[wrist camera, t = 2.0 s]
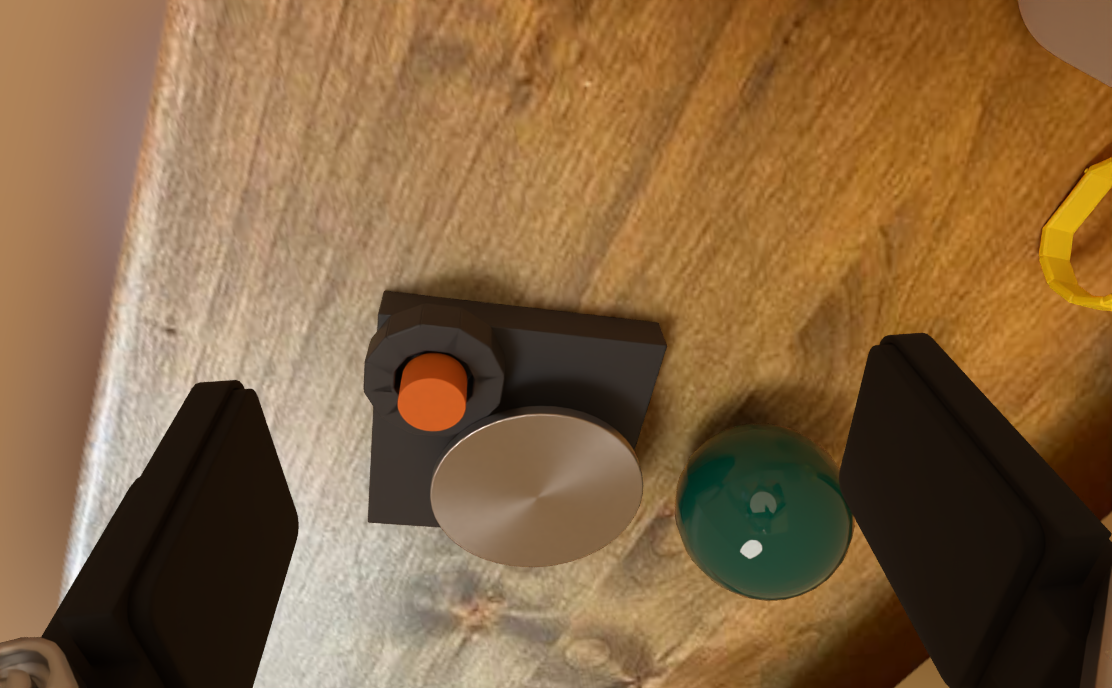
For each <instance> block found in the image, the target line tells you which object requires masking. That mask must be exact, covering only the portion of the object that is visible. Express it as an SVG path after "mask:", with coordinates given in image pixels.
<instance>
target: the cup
mask: <svg viewBox="0 0 1112 688" xmlns="http://www.w3.org/2000/svg"><path fill="white" fill-rule="evenodd" d="M1018 5H1019V9H1020V13H1021V16H1022V18H1023V21H1024V23H1025V25H1026V27H1027V28H1028V30H1029V32H1030V33H1031V34H1032V36H1033V37H1034V38H1035V39H1036V41H1037V42H1038V43H1039V44H1041V45H1042V46H1043V47H1044V48H1045V49H1046V50H1048V51H1049V52H1051V53H1052V54H1053V55H1055V56H1056V57H1058V58H1060V59H1061V60H1063V61H1065V62H1067V63H1068V64H1070V65H1072V66H1074V67H1076V68H1077V69H1079V70H1081V71H1083V72H1085V73H1086V74H1088V75H1090V76H1092V77H1094V78H1095V79H1097V80H1099V81H1101V82H1103V83H1104V84H1106V85H1108V86H1110V87H1112V0H1018Z"/></svg>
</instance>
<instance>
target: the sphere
mask: <svg viewBox="0 0 1112 688" xmlns="http://www.w3.org/2000/svg"><path fill="white" fill-rule="evenodd" d="M839 472H840V469H839V467H838V466H837V464H836V463H835V462H834V460H833V459H832V457H831V456H830V455H829V453H828V452H827V451H826V450H825V449H824V448H823V447H822V446H821V445H819V444H818V443H816V442H814V441H813V440H811V439H809V438H808V437H806V436H804V435H803V434H801V433H799V432H798V431H796V430H794V429H791V428H788V427H783V426H779V425H774V424H769V423H756V424H742V425H739V426H735V427H732V428H728V429H725V430H723V431H721V432H720V433H718V434H716V435H714V436H713V437H711V438H709V439H708V440H707V441H705V442H704V443H703V444H702V445H701V446H700V447H699V448H698V449H697V450H696V451H695V452H694V453H693V454H692V455H691V457H690V459H689V461H688V462H687V464H686V466H685V468H684V470H683V472H682V473H681V475H680V477H679V481H678V484H677V491H676V499H675V519H676V524H677V527H678V530H679V533H680V536H681V539H682V541H683V544H684V547H685V549H686V551H687V553H688V555H689V556H690V558H691V559H692V561H693V562H694V563H695V564H696V565H697V566H698V567H699V568H700V569H701V570H702V571H703V572H704V573H705V574H706V575H707V576H708V577H709V578H710V579H711V580H712V581H713V582H714V583H716V584H717V585H719V586H720V587H722V588H724V589H727V590H729V591H731V592H733V593H735V594H738V595H740V596H742V597H745V598H751V599H758V600H764V601H777V600H786V599H790V598H794V597H798V596H801V595H803V594H805V593H807V592H810V591H812V590H814V589H816V588H817V587H818V586H820V585H821V584H822V583H824V582H825V581H826V580H828V579H829V578H830V577H831V576H832V575H833V573H834V572H835V571H836V570H837V568H838V567H839V566H840V564H841V563H842V562H843V560H844V558H845V556H846V554H847V552H848V549H849V546H850V543H851V540H852V536H853V532H854V528H855V518H854V516H853V514H852V512H851V511H850V509H849V507H848V505H847V503H846V501H845V500H844V498H843V495H842V493H841V490H840V485H839Z"/></svg>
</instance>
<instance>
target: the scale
mask: <svg viewBox="0 0 1112 688" xmlns="http://www.w3.org/2000/svg"><path fill="white" fill-rule="evenodd" d="M666 348H667V345H666V342H665V339H664V336H663V334H662V331H661V328H660V325H659V323H657V322H648V321H639V320H631V319H622V318H614V317H605V316H597V315H588V314H579V313H571V312H562V311H554V310H545V309H536V308H528V307H519V306H511V305H502V304H494V303H485V302H476V301H468V300H459V299H451V298H442V297H434V296H425V295H416V294H408V293H399V292H391V291H384V293H383V297H382V301H381V305H380V309H379V313H378V326H377V333H376V334H375V335H374V336H373V337H372V339H371V342H370V344H369V348H368V352H367V356H366V359H365V368H364V393H365V394H366V396H367V397H368V399H369V400H370V402H371V403H372V405H373V426H372V446H371V466H370V487H369V507H368V522H369V523H383V524H397V525H412V526H427V527H440V525H439V523H438V522H437V520H436V518H435V516H434V513H433V510H432V506H431V500H430V487H431V479H432V474H433V470H434V467H435V465H436V462H437V460H438V458H439V456H440V455H441V453H442V451H443V450H444V449H445V448H446V446H447V445H448V444H449V443H450V442H451V440H453V439H454V438H455V437H456V436H457V435H458V434H459V433H460V432H462V431H463V430H464V429H466V428H467V427H469V426H470V425H472V424H474V423H475V422H477V421H479V420H481V419H483V418H485V417H488V416H490V415H493V414H495V413H498V412H502V411H506V410H509V409H514V408H521V407H528V406H556V407H563V408H569V409H573V410H577V411H581V412H584V413H587V414H589V415H592V416H594V417H597V418H598V419H600V420H602V421H604V422H606V423H607V424H609V425H610V426H612V427H613V428H614V429H616V430H617V431H618V432H619V433H620V434H621V435H622V436H623V437H624V438H625V439H626V440H627V441H628V443H629V444H630V445H631V447H632V448H633V450H635V447H636V444H637V441H638V437H639V434H640V431H641V428H642V425H643V421H644V418H645V415H646V412H647V408H648V405H649V402H650V399H651V396H652V392H653V389H654V386H655V383H656V380H657V376H658V373H659V370H660V367H661V364H662V360H663V357H664V354H665V351H666ZM425 353H442V354H446V355H448V356H451V357H453V358H454V359H456V360H457V361H458V362H459V363H460V364H461V365H462V366H463V367H464V369H465V371H466V374H467V397H466V410H465V413H464V415H463V417H462V418H461V420H460V421H459V422H458V423H457V424H455V425H454V426H452V427H450V428H448V429H445V430H441V431H425V430H421V429H418V428H416V427H413V426H412V425H410V424H409V423H407V422H406V421H405V420H404V419H403V417H402V416H401V414H400V412H399V410H398V396H399V390H400V385H401V379H402V374H403V370H404V368H405V366H406V365H407V364H408V363H409V362H410V361H411V360H412V359H413V358H415V357H417V356H419V355H421V354H425Z"/></svg>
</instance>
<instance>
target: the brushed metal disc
mask: <svg viewBox="0 0 1112 688" xmlns="http://www.w3.org/2000/svg"><path fill="white" fill-rule="evenodd" d="M642 494H643V479H642V472H641V468H640V465H639V461H638V458H637V456H636V454H635V452H634V450H633V448H632V447H631V445H630V444H629V443H628V441H627V440H626V439H625V438H624V437H623V436H622V435H621V434H620V433H619V432H618V431H617V430H616V429H614V428H613V427H612V426H610V425H609V424H607V423H606V422H604V421H602V420H600V419H598V418H597V417H594V416H592V415H589V414H587V413H584V412H581V411H577V410H573V409H569V408H563V407H556V406H528V407H521V408H514V409H509V410H506V411H502V412H498V413H495V414H493V415H490V416H488V417H485V418H483V419H481V420H479V421H477V422H475V423H474V424H472V425H470V426H469V427H467V428H466V429H464V430H463V431H462V432H460V433H459V434H458V435H457V436H456V437H455V438H454V439H453V440H451V442H450V443H449V444H448V445H447V446H446V448H445V449H444V450H443V451H442V453H441V455H440V456H439V458H438V460H437V462H436V465H435V467H434V470H433V474H432V479H431V487H430V500H431V506H432V510H433V513H434V516H435V518H436V520H437V522H438V523H439V525H440V527H441V528H442V530H443V531H444V532H445V533H446V535H447V536H448V537H449V538H450V539H451V540H453V541H454V542H455V543H456V544H457V545H459V546H460V547H461V548H463V549H464V550H466V551H468V552H470V553H472V554H473V555H475V556H478V557H480V558H483V559H485V560H488V561H492V562H495V563H499V564H504V565H509V566H518V567H543V566H552V565H558V564H563V563H567V562H571V561H574V560H577V559H580V558H583V557H585V556H588V555H590V554H592V553H594V552H596V551H598V550H600V549H601V548H603V547H605V546H606V545H608V544H609V543H610V542H612V541H613V540H614V539H616V538H617V537H618V536H619V535H620V534H621V533H622V532H623V531H624V530H625V529H626V528H627V526H628V525H629V524H630V523H631V521H632V519H633V518H634V516H635V515H636V513H637V510H638V508H639V506H640V502H641V498H642Z"/></svg>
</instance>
